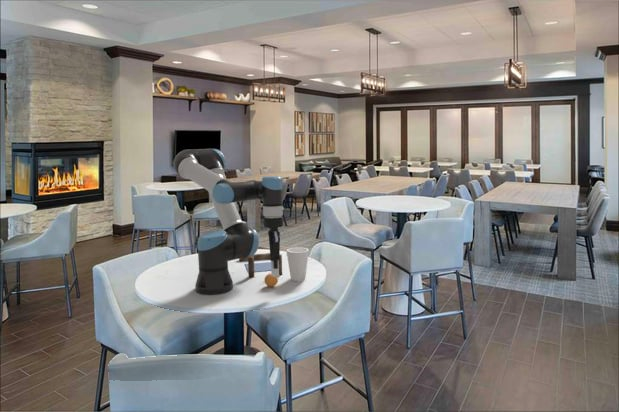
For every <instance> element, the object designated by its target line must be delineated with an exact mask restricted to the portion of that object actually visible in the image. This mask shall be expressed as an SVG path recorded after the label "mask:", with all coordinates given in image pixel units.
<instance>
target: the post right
mask: <svg viewBox="0 0 619 412" xmlns="http://www.w3.org/2000/svg"><path fill="white" fill-rule="evenodd" d="M282 255H283V254H280V259H279V276H282V275H283V256H282Z"/></svg>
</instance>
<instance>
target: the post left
mask: <svg viewBox="0 0 619 412" xmlns="http://www.w3.org/2000/svg"><path fill="white" fill-rule="evenodd" d="M254 263H255V260H254V257H253V256H250V257H248V261H247V264H248V271H247V273H248V278H251V279H253V278H255V272H254Z"/></svg>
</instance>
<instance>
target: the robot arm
mask: <svg viewBox="0 0 619 412" xmlns="http://www.w3.org/2000/svg"><path fill="white" fill-rule="evenodd" d="M226 162H227V161H226V158H225V156H224V153H222V151H220V149H217V148H198V149H195V148H192V149H189V148H188V149H183V150H181V151H180V152H178V153H177V154H176V156H175V157H174V159H173V162H172V165H173V169H174V172H175V173H176V174H177V175H178V176H179V177H181V178H182V179H185V180H190V181H192V182H193V183H195V184H197V185H198V186H200V187H201V188H203V189H205V190H206V191H207V192H208V195H209V196H210V199H211V202H212V204H213V206H214V209H215V212H216V214H217V216H218V218H219V221H220V224H221V226H222V229H221V230H218V229H217V230H210V231H207V232H204V233H201V234H200V235H199V237H198V239H197V246H196V247H197V255H198V256H197V257H198V275H197V278H196V281H195V292H196V293H198V294H202V295H220V294H224V293H227V292H229V291H232V290H233V288H234V281H233V279H232V276H231V274H230V271H229V262H230V261H234V260H239V258H244V257H248V256H251V255H254V254H257V251H258V249H259V245H260V239H259V234H258V232H257V231H256V230H255V229H254V228H249V226H248V223H247V222H246V221H243V220H242V218H241V215H240V213H239V210H238V208H237V206H236V204H235V203H240V202H249V201H256V200H257V201H262V213H263V214H262V215H263V227H264V228H266V229H267V228H268V229H269V230H268V232H267V235H268V243H269V253H270V256H271V259H269V262H271V270H272V271H271V274H272V277H275V276H277V277H280V275H279V259H280V252H281V251H280V249H281V245H280V243H281V241H280V240H281V232H280V231H279V228H282V227H283V226H284V217H283V214H284V211H283V210H285V207H283V205H284V204H283V202H284V201H283V200H284V199H283V181H282V177H281V176H277V175H275V176H274V175H272V176H271V175H268V176H263V177H262V180H256V179H252V180H251V179H250V180H246V181H238V182H231V181H230V180H227V179H225V177H224V175H225V170H226V168H227V164H226Z"/></svg>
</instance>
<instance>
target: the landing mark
mask: <svg viewBox="0 0 619 412" xmlns="http://www.w3.org/2000/svg"><path fill="white" fill-rule="evenodd" d="M244 266H245V268H246V270H247V272H248V263H245V264H244ZM269 271H271V272H272V270H271V261H267V262H257V263H256V262H254V273H256V272H257V273H259V272H260V273H261V272H269Z"/></svg>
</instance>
